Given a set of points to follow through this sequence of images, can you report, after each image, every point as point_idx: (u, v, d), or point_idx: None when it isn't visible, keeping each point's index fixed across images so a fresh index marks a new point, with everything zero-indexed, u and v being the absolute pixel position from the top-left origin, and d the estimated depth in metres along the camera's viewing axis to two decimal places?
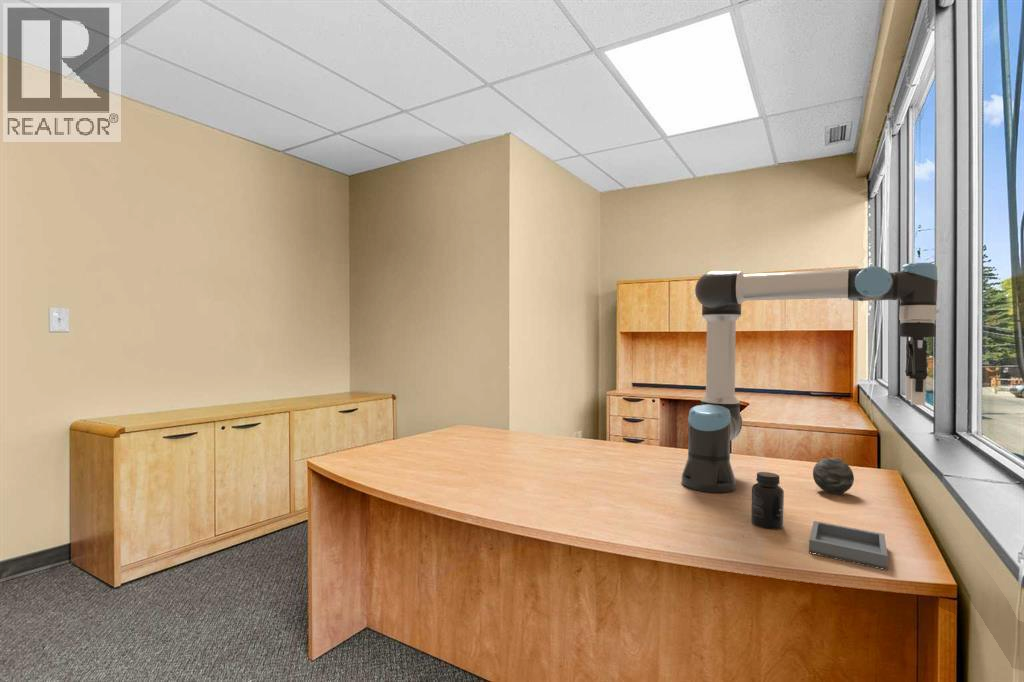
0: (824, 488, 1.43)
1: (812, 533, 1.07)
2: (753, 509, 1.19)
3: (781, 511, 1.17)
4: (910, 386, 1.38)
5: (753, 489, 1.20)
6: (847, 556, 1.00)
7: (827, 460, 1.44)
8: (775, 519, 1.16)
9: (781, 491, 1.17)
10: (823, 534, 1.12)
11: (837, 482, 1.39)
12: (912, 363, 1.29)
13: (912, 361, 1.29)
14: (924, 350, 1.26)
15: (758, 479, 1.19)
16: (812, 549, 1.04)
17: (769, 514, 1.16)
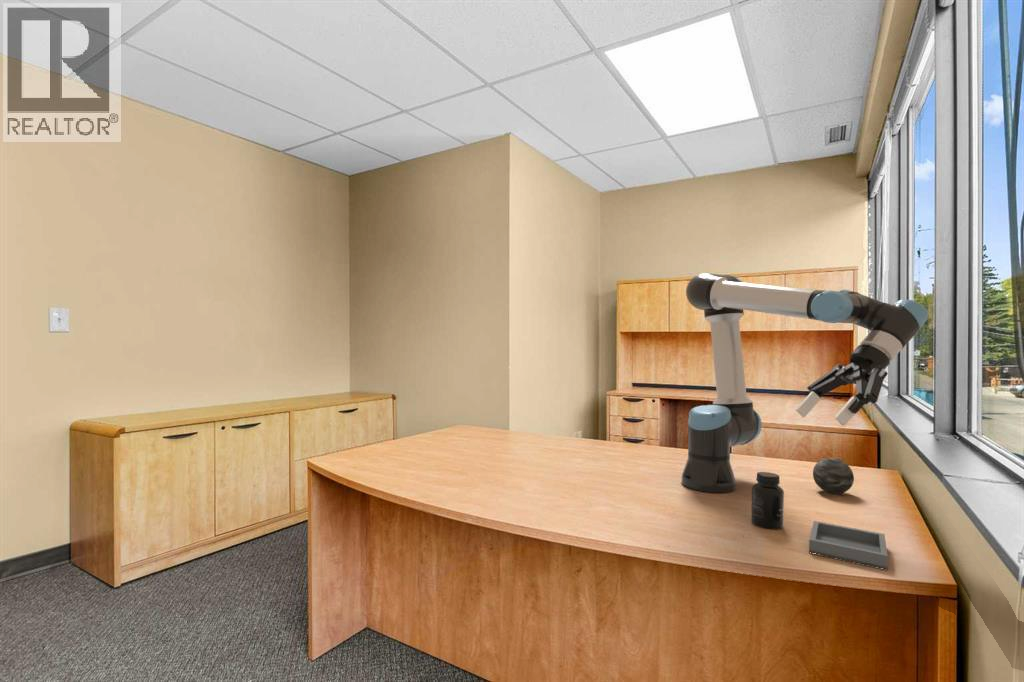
0: (824, 488, 1.43)
1: (812, 533, 1.07)
2: (753, 509, 1.19)
3: (781, 511, 1.17)
4: (809, 402, 1.27)
5: (753, 489, 1.20)
6: (847, 556, 1.00)
7: (827, 460, 1.44)
8: (775, 519, 1.16)
9: (781, 491, 1.17)
10: (823, 534, 1.12)
11: (837, 482, 1.39)
12: (859, 384, 1.16)
13: (860, 382, 1.16)
14: (882, 380, 1.14)
15: (758, 479, 1.19)
16: (812, 549, 1.04)
17: (769, 514, 1.16)
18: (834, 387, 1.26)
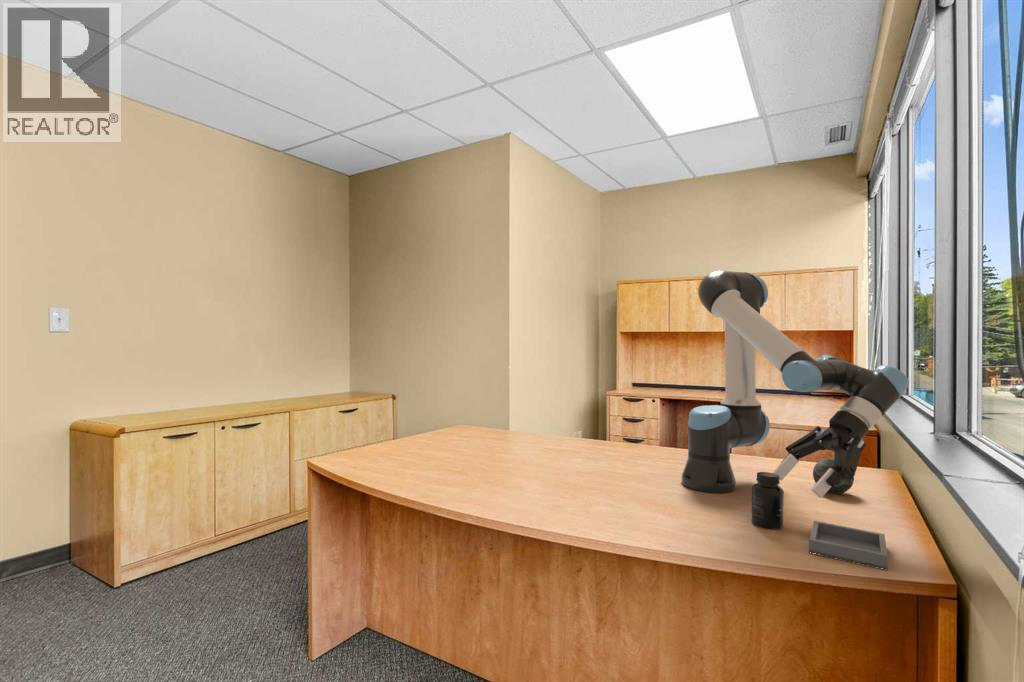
0: None
1: (812, 533, 1.07)
2: (753, 509, 1.19)
3: (781, 511, 1.17)
4: (787, 464, 1.25)
5: (753, 489, 1.20)
6: (847, 556, 1.00)
7: (827, 460, 1.44)
8: (775, 519, 1.16)
9: (781, 491, 1.17)
10: (823, 534, 1.12)
11: (837, 482, 1.39)
12: (837, 454, 1.14)
13: (838, 452, 1.14)
14: (860, 451, 1.12)
15: (758, 479, 1.19)
16: (812, 549, 1.04)
17: (769, 514, 1.16)
18: (812, 451, 1.24)
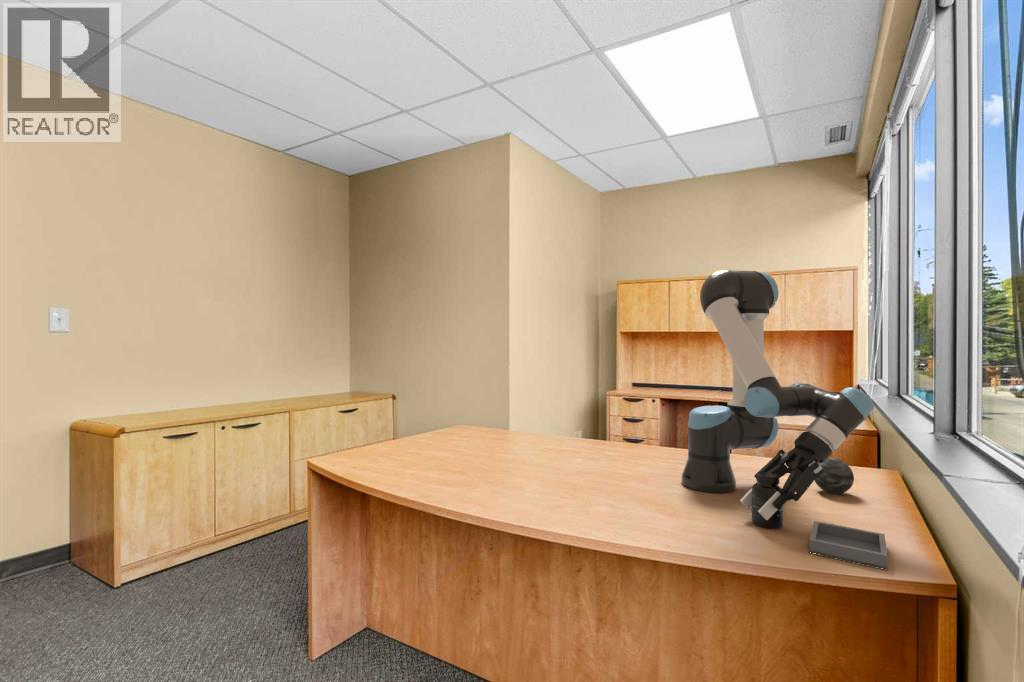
0: (824, 488, 1.43)
1: (812, 533, 1.07)
2: (753, 509, 1.19)
3: (781, 511, 1.17)
4: None
5: (753, 489, 1.20)
6: (847, 556, 1.00)
7: (827, 460, 1.44)
8: (775, 519, 1.16)
9: None
10: (823, 534, 1.12)
11: (837, 482, 1.39)
12: (790, 477, 1.16)
13: (792, 475, 1.16)
14: (814, 477, 1.14)
15: (758, 479, 1.19)
16: (812, 549, 1.04)
17: None
18: (780, 475, 1.23)
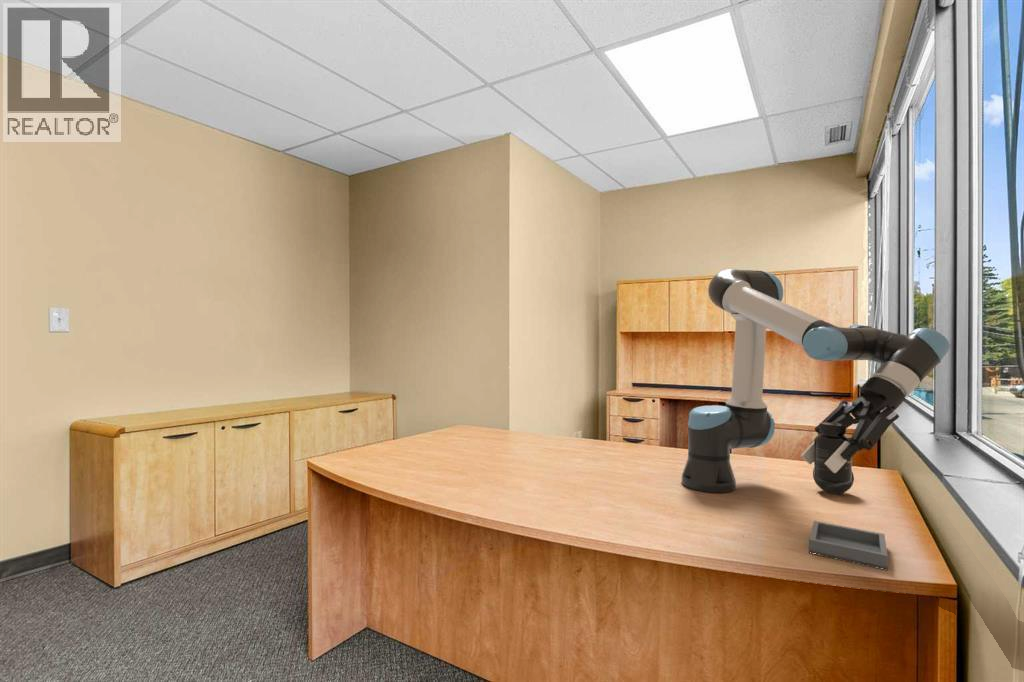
0: (824, 488, 1.43)
1: (812, 533, 1.07)
2: (817, 463, 1.07)
3: (849, 463, 1.05)
4: None
5: (816, 440, 1.08)
6: (847, 556, 1.00)
7: None
8: (843, 472, 1.04)
9: None
10: (823, 534, 1.12)
11: None
12: (860, 425, 1.05)
13: (861, 423, 1.05)
14: (888, 423, 1.02)
15: (822, 429, 1.07)
16: (812, 549, 1.04)
17: None
18: None
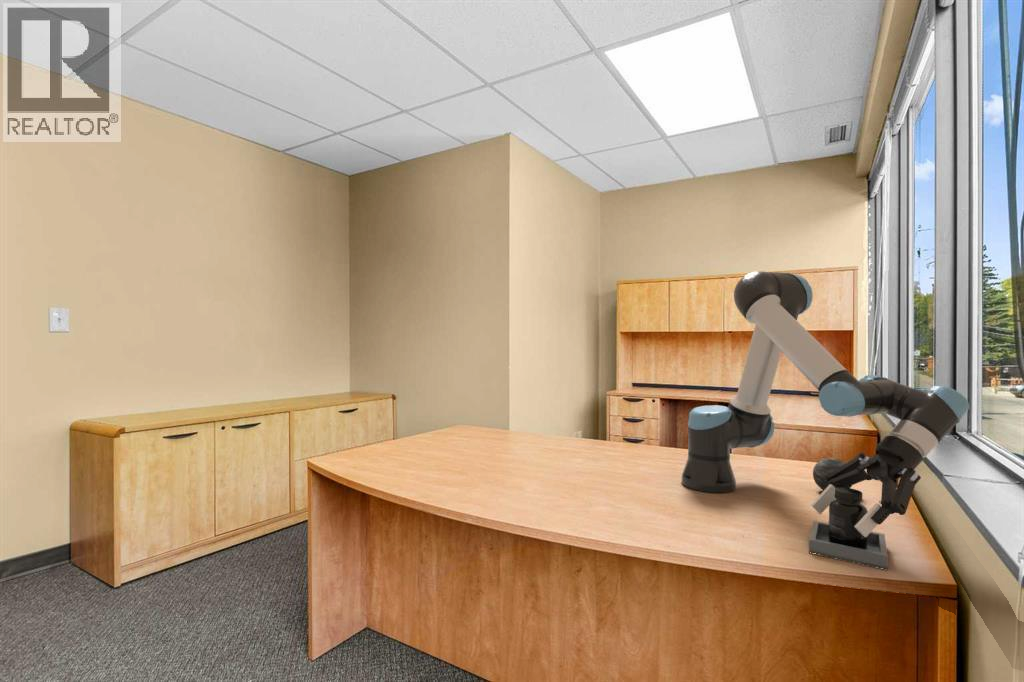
0: None
1: (812, 533, 1.07)
2: (832, 530, 1.05)
3: None
4: (827, 496, 1.11)
5: (831, 507, 1.06)
6: (847, 556, 1.00)
7: (827, 460, 1.44)
8: (859, 542, 1.02)
9: (865, 510, 1.03)
10: (823, 534, 1.12)
11: None
12: (885, 487, 1.01)
13: (886, 485, 1.01)
14: (913, 485, 0.99)
15: (837, 496, 1.05)
16: (812, 549, 1.04)
17: (852, 536, 1.02)
18: (856, 481, 1.10)
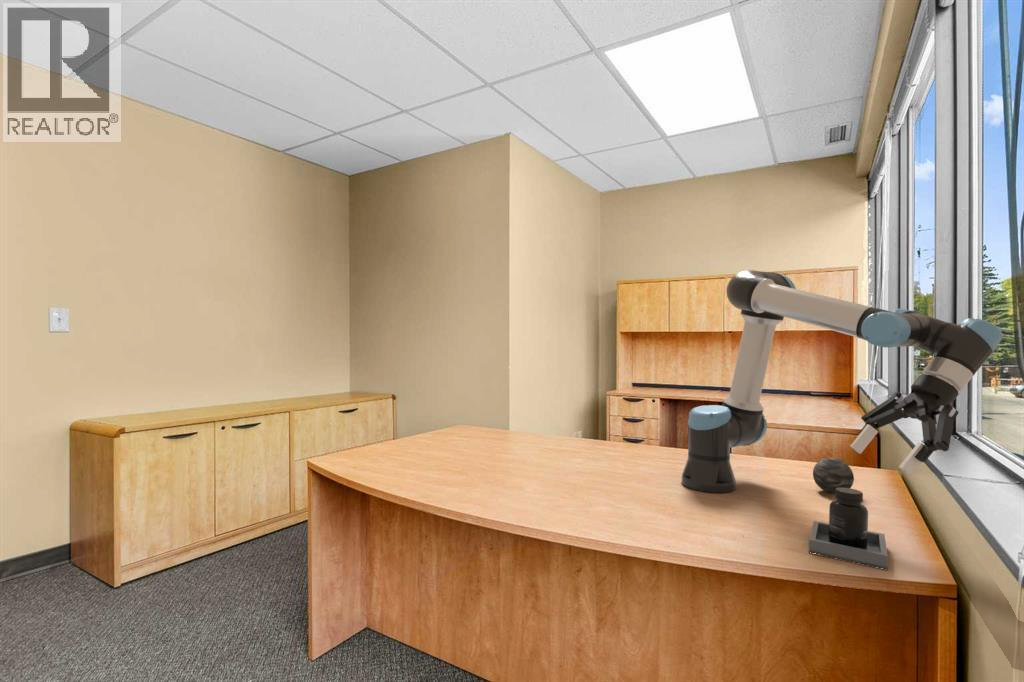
0: (824, 488, 1.43)
1: (812, 533, 1.07)
2: (832, 530, 1.05)
3: (866, 533, 1.03)
4: (865, 436, 1.16)
5: (832, 507, 1.06)
6: (847, 556, 1.00)
7: (827, 460, 1.44)
8: (859, 542, 1.02)
9: (866, 510, 1.03)
10: (823, 534, 1.12)
11: (837, 482, 1.39)
12: (925, 425, 1.04)
13: (926, 423, 1.04)
14: (952, 421, 1.02)
15: (838, 496, 1.05)
16: (812, 549, 1.04)
17: (852, 536, 1.02)
18: (893, 419, 1.14)
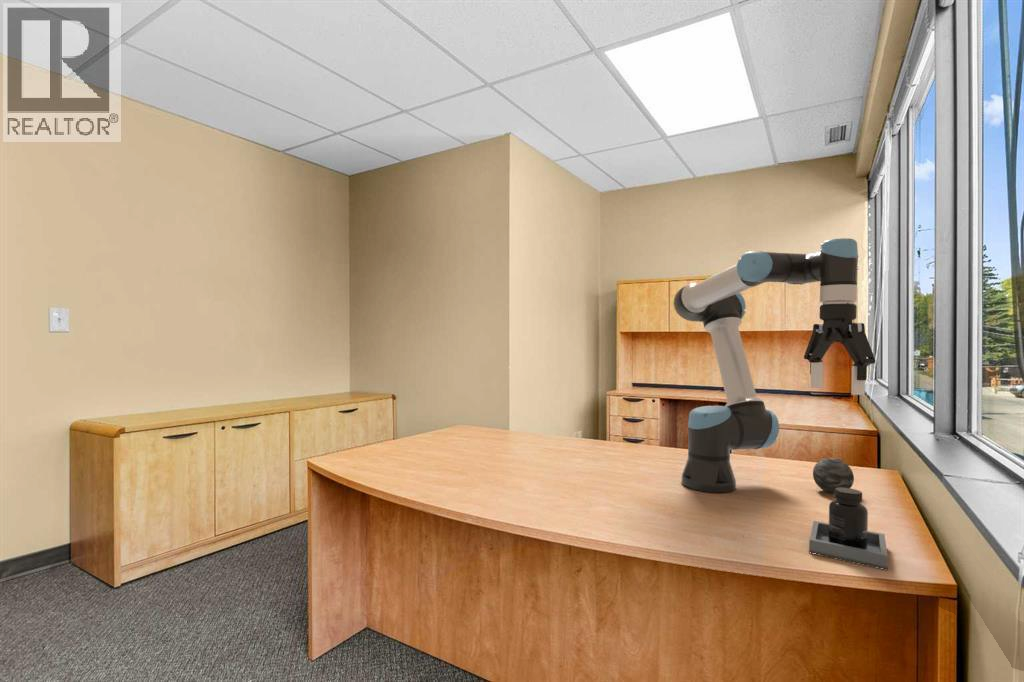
0: (824, 488, 1.43)
1: (812, 533, 1.07)
2: (832, 530, 1.05)
3: (865, 533, 1.03)
4: (816, 373, 1.28)
5: (831, 507, 1.06)
6: (847, 556, 1.00)
7: (827, 460, 1.44)
8: (859, 542, 1.02)
9: (865, 510, 1.03)
10: (823, 534, 1.12)
11: (837, 482, 1.39)
12: (848, 348, 1.16)
13: (848, 346, 1.16)
14: (864, 334, 1.14)
15: (837, 496, 1.05)
16: (812, 549, 1.04)
17: (852, 536, 1.02)
18: (826, 348, 1.26)
